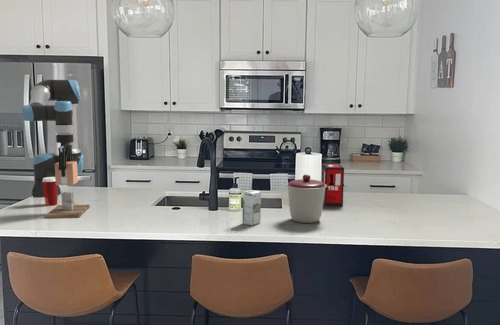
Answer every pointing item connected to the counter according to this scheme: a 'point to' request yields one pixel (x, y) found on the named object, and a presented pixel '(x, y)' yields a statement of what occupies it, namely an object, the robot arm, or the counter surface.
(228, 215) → the counter surface
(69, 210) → the wooden base with block
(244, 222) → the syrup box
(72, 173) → the peach bevelled cube
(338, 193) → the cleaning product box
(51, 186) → the paper cup
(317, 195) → the canister
